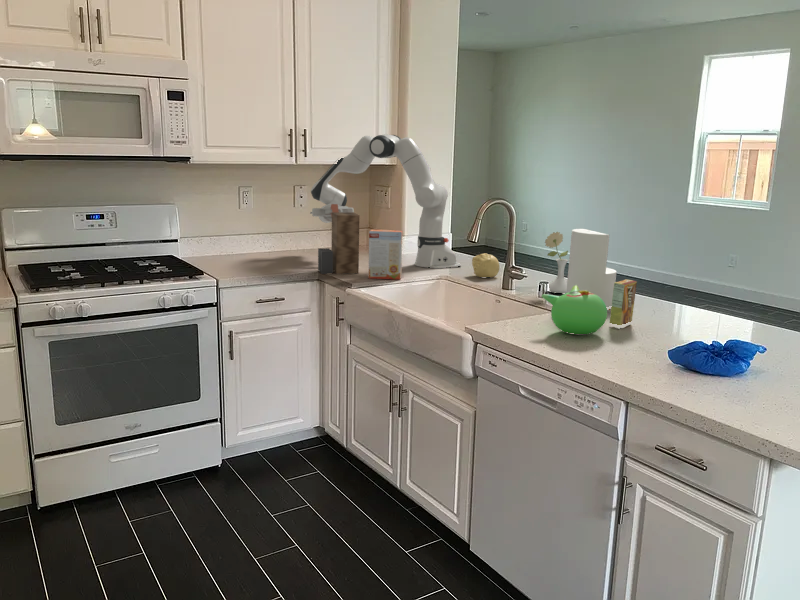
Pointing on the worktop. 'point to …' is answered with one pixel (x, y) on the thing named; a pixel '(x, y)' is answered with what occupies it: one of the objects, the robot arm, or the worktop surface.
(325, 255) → the domino
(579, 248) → the cylinder
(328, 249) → the domino
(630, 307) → the candy box
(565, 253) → the flower in vase
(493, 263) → the pale yellow lumpy ball
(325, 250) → the domino
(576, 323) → the round teapot
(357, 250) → the walnut stand
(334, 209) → the bar
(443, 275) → the worktop surface
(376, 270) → the cracker box
